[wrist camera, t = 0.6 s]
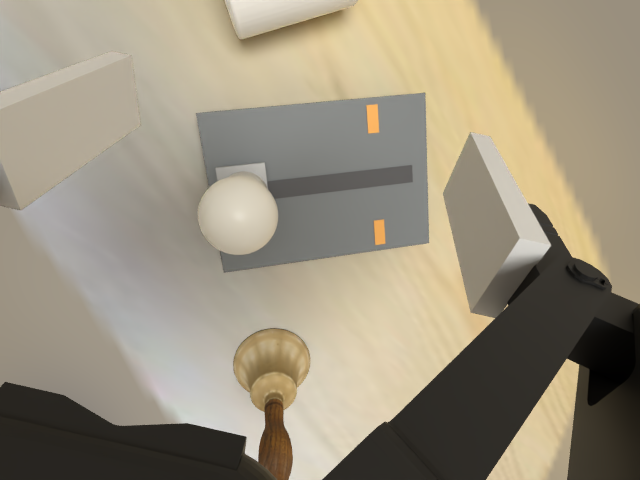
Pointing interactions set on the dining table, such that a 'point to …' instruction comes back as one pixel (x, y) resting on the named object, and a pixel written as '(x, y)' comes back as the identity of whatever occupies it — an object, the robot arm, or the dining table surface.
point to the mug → (277, 13)
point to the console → (329, 174)
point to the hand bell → (273, 389)
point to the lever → (238, 210)
